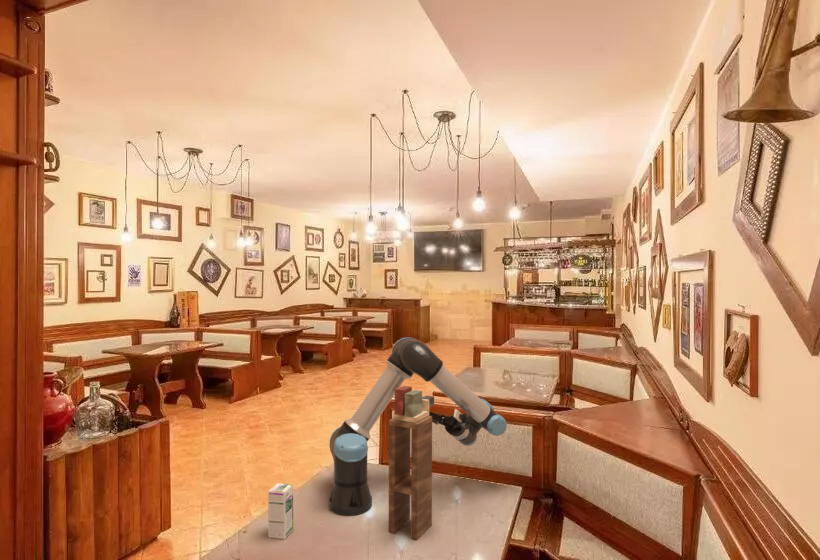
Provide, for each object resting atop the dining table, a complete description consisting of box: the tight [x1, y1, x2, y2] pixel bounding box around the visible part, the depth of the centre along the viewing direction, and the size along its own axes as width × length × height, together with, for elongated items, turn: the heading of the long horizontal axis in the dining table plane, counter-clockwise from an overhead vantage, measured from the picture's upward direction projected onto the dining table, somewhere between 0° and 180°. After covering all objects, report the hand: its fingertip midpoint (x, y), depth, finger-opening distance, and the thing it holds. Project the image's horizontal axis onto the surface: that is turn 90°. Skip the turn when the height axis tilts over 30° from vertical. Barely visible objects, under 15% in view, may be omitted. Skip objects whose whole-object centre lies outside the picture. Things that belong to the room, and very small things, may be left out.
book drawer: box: [392, 385, 435, 423], centre depth 154 cm, size 8×19×10 cm, turn 152°
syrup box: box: [267, 482, 294, 540], centre depth 146 cm, size 6×6×14 cm
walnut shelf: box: [388, 416, 433, 541], centre depth 150 cm, size 10×10×35 cm
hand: (437, 410), depth 167 cm, fingers open, 13 cm apart
